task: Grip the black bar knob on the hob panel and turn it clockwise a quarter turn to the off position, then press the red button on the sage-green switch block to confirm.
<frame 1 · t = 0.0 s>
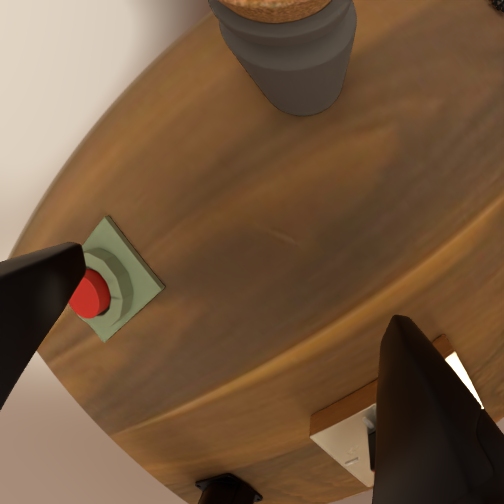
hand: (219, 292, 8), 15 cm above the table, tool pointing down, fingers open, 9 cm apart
confirm button: (87, 293, 25), point 3 cm above the table, slide at 0.1 cm
rocket model: (500, 5, 13), point 1 cm above the table
hob panel: (403, 412, 25), on the table
bottle: (301, 79, 20), on the table
stove knob: (391, 461, 20), point 5 cm above the table, hinge at 90.0°
switch block: (106, 282, 28), on the table
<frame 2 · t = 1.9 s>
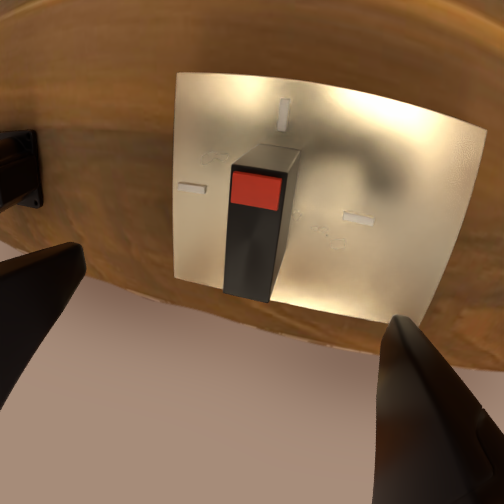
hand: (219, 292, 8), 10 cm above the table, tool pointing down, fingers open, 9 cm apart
hob panel: (320, 189, 17), on the table
stove knob: (262, 219, 12), point 5 cm above the table, hinge at 90.0°
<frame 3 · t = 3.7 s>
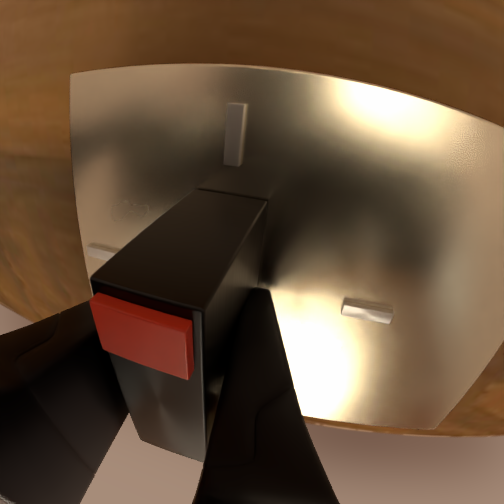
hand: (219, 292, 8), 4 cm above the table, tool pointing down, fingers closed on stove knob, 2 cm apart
hob panel: (308, 245, 11), on the table
stove knob: (195, 335, 7), point 5 cm above the table, hinge at 90.0°, touching gripper
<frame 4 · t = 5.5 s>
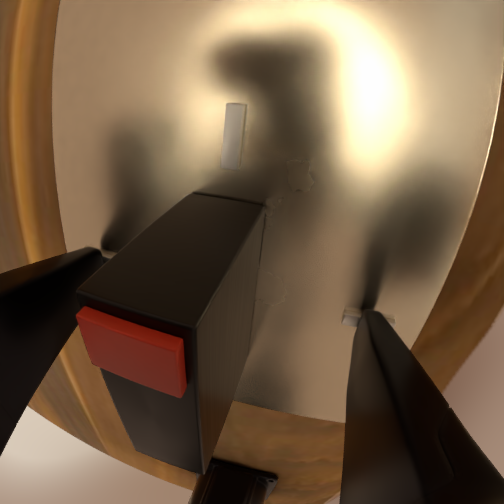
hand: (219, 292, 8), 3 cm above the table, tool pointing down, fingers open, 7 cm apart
hob panel: (256, 182, 10), on the table
stove knob: (190, 345, 6), point 5 cm above the table, hinge at 0.6°
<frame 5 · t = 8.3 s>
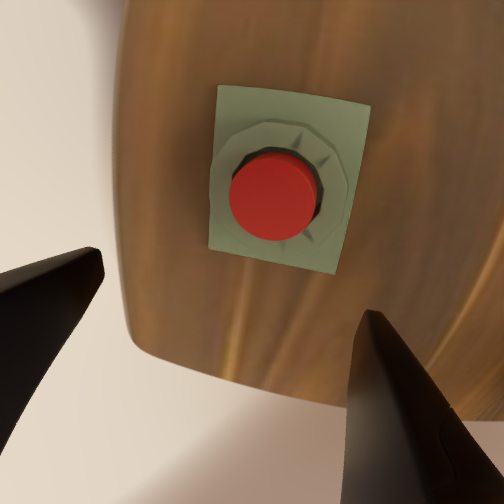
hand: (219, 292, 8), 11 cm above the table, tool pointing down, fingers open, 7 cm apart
confirm button: (274, 195, 15), point 3 cm above the table, slide at 0.1 cm
switch block: (283, 179, 18), on the table
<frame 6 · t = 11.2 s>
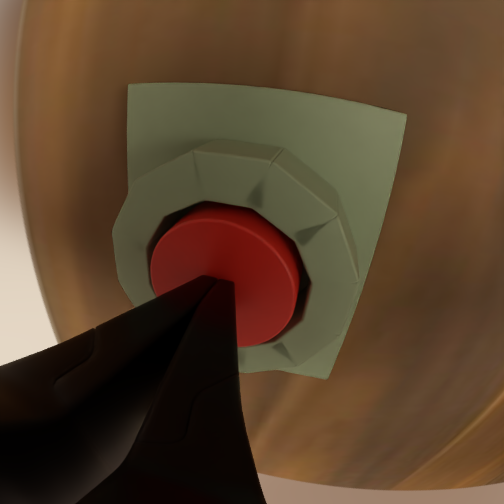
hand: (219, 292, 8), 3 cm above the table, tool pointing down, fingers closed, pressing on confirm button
confirm button: (227, 274, 9), point 2 cm above the table, slide at -0.9 cm, touching gripper
switch block: (245, 242, 11), on the table
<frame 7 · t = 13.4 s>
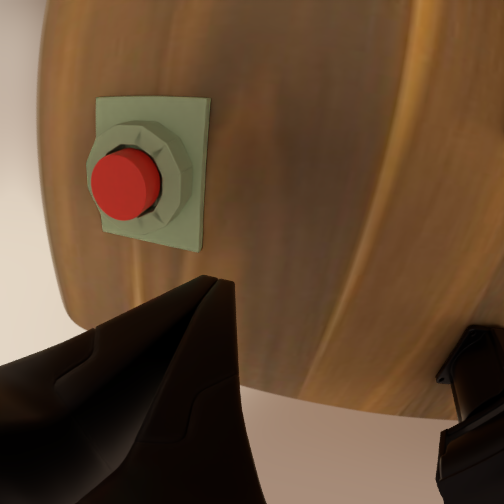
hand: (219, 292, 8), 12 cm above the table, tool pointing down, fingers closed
confirm button: (124, 184, 17), point 3 cm above the table, slide at 0.1 cm
switch block: (149, 170, 20), on the table
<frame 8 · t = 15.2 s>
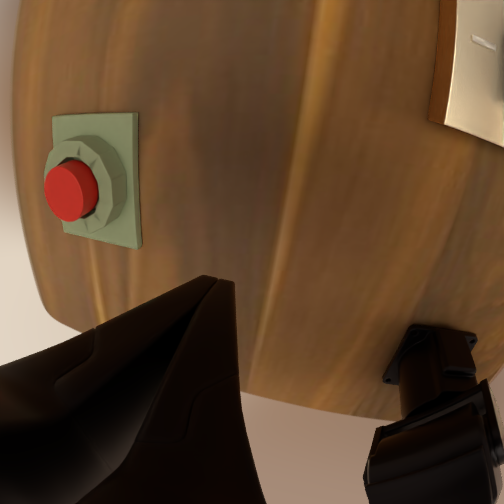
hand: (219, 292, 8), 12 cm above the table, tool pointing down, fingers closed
confirm button: (70, 190, 19), point 3 cm above the table, slide at 0.1 cm
switch block: (96, 177, 22), on the table
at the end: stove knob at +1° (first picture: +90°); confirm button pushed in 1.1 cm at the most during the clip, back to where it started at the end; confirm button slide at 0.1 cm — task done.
